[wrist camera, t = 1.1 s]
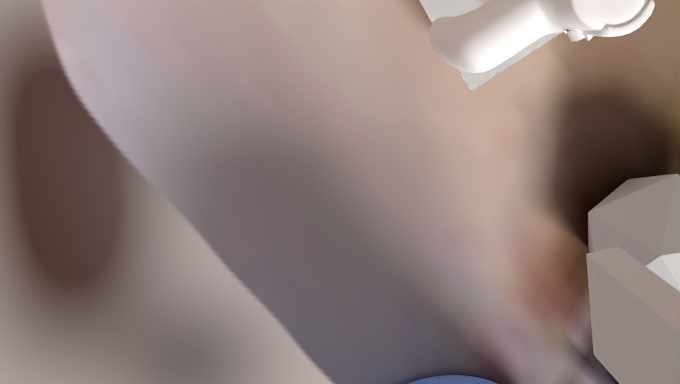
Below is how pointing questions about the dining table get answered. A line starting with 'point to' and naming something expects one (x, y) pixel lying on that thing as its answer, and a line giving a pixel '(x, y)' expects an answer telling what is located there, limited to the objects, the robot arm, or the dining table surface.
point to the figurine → (520, 28)
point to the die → (642, 224)
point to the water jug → (453, 380)
